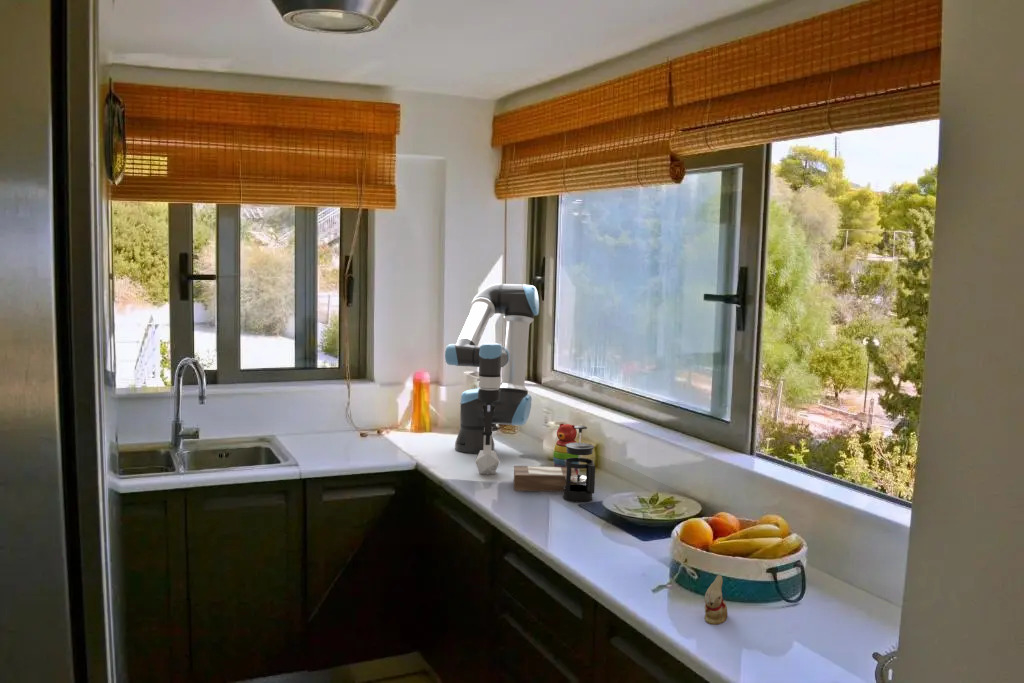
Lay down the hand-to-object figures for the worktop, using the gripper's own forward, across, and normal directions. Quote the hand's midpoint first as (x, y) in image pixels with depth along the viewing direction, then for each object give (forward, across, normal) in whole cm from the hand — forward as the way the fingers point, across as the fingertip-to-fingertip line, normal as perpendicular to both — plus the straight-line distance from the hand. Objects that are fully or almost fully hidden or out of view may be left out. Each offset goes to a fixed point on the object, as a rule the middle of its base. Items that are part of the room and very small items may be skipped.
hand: (487, 449), depth 310 cm
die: (+8, -1, 0) cm, 9 cm away
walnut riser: (+8, +14, +19) cm, 25 cm away
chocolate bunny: (+10, +118, +50) cm, 129 cm away
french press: (+9, +28, +29) cm, 42 cm away
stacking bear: (+8, -1, +27) cm, 28 cm away
